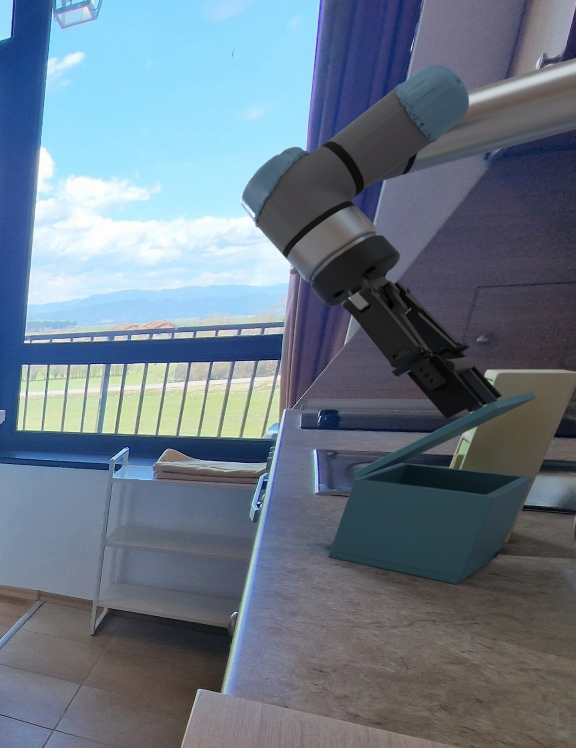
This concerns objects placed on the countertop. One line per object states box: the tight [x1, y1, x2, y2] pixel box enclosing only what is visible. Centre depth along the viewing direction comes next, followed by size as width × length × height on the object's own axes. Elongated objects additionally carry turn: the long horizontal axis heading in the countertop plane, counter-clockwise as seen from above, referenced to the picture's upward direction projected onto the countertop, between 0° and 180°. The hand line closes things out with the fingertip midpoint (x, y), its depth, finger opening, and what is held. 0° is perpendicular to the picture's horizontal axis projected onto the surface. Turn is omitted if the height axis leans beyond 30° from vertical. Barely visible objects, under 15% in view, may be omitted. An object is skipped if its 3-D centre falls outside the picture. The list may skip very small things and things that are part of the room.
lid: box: [353, 356, 536, 478], centre depth 73 cm, size 12×16×8 cm
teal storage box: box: [328, 462, 533, 585], centre depth 75 cm, size 12×16×10 cm
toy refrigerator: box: [448, 369, 576, 544], centre depth 79 cm, size 8×7×21 cm
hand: (474, 407), depth 70 cm, fingers open, 8 cm apart
